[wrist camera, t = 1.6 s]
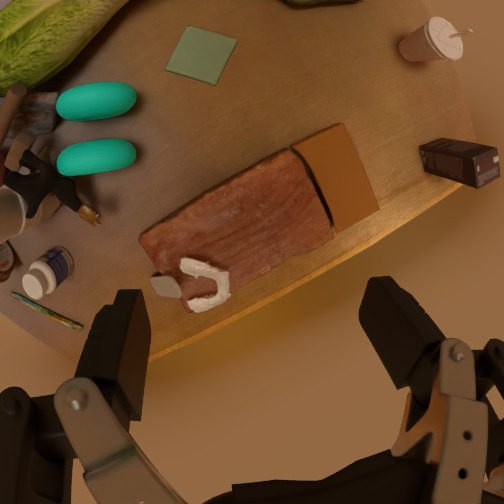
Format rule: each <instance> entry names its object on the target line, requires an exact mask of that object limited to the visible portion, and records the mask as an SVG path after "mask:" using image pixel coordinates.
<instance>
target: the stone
mask: <svg viewBox="0 0 504 504" xmlns="http://www.w3.org/2000/svg"><path fill="white" fill-rule="evenodd" d="M60 95H61V93H59V92H51V93H47V92H42V93H38V92H32V93H27V94H26V95H25V97H24V99H23V101H22V103H21V105H20V107H19V109H18V111H17V113H16V115H15V117H14V119H13V122H12V124H11V126H10V128H9V131H8V133H7V135H6V138H15V137H16V136H17V135H18V134H19V133H20V132H21V131H22V130H23V129H25V130H26V131H28V132H29V133H30V134H32V135H33V136H35V135H41V134H46V133H48V132H50V131H52V129H53V127H54V126H55V123H56V119H57V110H56V103H57V100H58V98H59V97H60ZM5 97H6V96H4V97H0V108H1V106H2V103H3V101H4V99H5Z"/></svg>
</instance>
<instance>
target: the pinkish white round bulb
mask: <svg viewBox="0 0 504 504" xmlns="http://www.w3.org/2000/svg"><path fill="white" fill-rule="evenodd" d="M4 163H5V161H4V158H3V156H2V154H1V153H0V188H1V186H2V183H3V180H4V176H5V165H4Z"/></svg>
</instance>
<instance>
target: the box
mask: <svg viewBox="0 0 504 504" xmlns="http://www.w3.org/2000/svg"><path fill="white" fill-rule="evenodd" d="M419 151H420V155H421V159H422V162H423V166H424V170H425V172H427V173H431V174H434V175H437V176H440V177H443V178H447V179H450V180H453V181H456V182H459V183H462V184H465V185H468V186H471V187H474V188H476V189H479V188H481V187H483V186H484V185H486V184H488V183H490V182H491V181H493V180H495V179H497V178H498V177H500V167H499V158H498V151H497V148H495V147H490V146H486V145H481V144H476V143H471V142H465V141H459V140H453V139H446V138H442V139H439V140H436V141H433V142H430V143H428V144H425V145H423V146H420V147H419Z"/></svg>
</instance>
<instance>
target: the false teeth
mask: <svg viewBox="0 0 504 504" xmlns="http://www.w3.org/2000/svg"><path fill="white" fill-rule="evenodd" d="M185 257H186V256H184V257H183V258H182V259H181V263H180V269H181V270H182V272H183V273H187V274H189V275H193V276H195V278H196V279H198V278H197V277H198V276H204V277H208V278H212V279H214V280H215V281H216V282H217V287H218V293H217V294H216V295H214V294H211V295H210V296H208V295H205V296H204V297H201V298H197V297H195V298H194V299H193V300H189V301H187V303H188V305H189V307H190V309H191V310H194V312H196V313H199V312H202V311H206V310H208V309H210V308H212V307H215V306H218V305H221V304H223V303H224V302H225V301H226V300H227V298H228V297H230V296H231V294H230V293H229V288H230V282H229V274H230V273H229V272H228V271H224V270H223V269H219V268H218V267H214V266H211V265H210V264H208V263H209V262H202V261H198V260H195V259H191V258H185Z"/></svg>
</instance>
